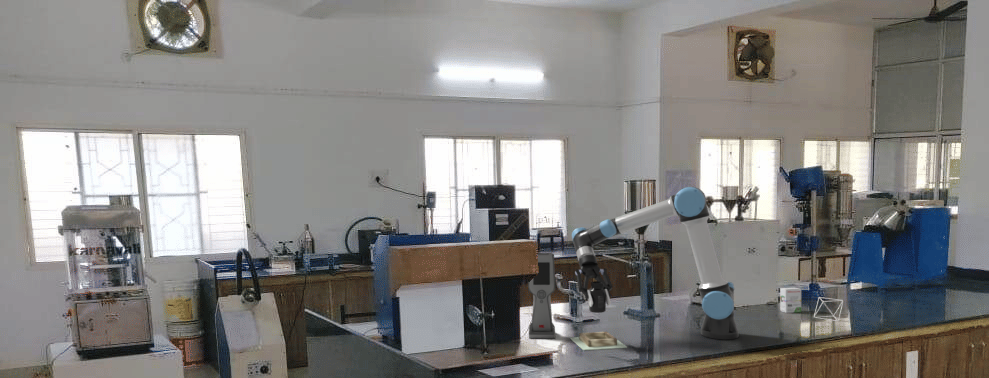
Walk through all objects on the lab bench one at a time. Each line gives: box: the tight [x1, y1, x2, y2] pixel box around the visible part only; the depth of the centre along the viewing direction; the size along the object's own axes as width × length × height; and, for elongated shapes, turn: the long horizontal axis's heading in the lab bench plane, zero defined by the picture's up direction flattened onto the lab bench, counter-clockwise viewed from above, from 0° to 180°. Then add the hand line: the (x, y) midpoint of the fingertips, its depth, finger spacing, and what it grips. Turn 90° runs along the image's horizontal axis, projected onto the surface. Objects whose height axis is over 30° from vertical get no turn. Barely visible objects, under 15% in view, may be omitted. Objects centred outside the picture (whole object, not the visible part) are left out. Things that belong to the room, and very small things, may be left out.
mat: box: [569, 336, 628, 351], centre depth 243 cm, size 18×18×1 cm
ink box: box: [779, 287, 802, 314], centre depth 296 cm, size 8×5×12 cm, turn 99°
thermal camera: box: [527, 252, 556, 340], centre depth 257 cm, size 12×13×35 cm
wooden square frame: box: [578, 331, 618, 347], centre depth 243 cm, size 12×12×2 cm
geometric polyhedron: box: [813, 296, 844, 322], centre depth 282 cm, size 12×11×9 cm
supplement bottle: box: [589, 280, 607, 314], centre depth 243 cm, size 7×7×12 cm
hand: (600, 304), depth 240 cm, fingers closed on supplement bottle, 7 cm apart
